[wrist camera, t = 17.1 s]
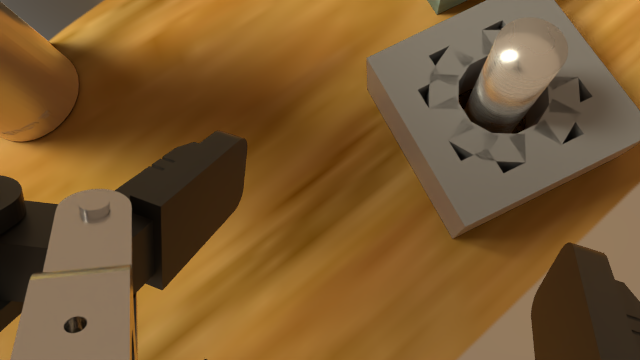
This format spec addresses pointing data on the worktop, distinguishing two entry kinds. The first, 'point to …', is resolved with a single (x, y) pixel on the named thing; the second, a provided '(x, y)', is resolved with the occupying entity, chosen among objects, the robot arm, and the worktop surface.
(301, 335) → the worktop surface
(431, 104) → the socket block
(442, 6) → the square peg
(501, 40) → the steel peg
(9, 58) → the robot arm
